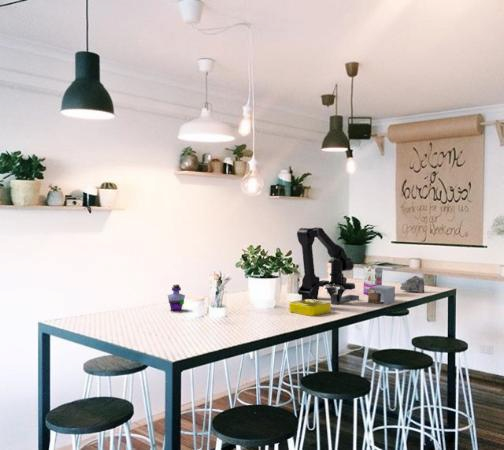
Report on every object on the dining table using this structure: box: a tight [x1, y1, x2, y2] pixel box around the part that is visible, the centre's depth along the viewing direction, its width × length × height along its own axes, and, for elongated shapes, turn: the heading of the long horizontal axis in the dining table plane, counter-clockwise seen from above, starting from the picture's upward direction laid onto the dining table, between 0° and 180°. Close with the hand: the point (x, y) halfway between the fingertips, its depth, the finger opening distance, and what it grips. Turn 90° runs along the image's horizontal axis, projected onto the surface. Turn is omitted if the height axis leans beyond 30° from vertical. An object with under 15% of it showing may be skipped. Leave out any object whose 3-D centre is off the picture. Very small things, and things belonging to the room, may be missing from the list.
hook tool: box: [330, 292, 360, 305], centre depth 278 cm, size 21×6×5 cm, turn 146°
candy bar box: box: [363, 265, 383, 296], centre depth 304 cm, size 11×5×16 cm, turn 25°
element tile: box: [288, 299, 332, 317], centre depth 248 cm, size 15×15×5 cm
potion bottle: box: [167, 284, 186, 312], centre depth 248 cm, size 9×9×12 cm
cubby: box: [369, 284, 396, 306], centre depth 280 cm, size 14×9×8 cm, turn 146°
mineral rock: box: [399, 275, 425, 294], centre depth 319 cm, size 13×11×10 cm
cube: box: [367, 293, 382, 305], centre depth 278 cm, size 5×5×5 cm
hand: (335, 301), depth 272 cm, fingers closed on hook tool, 3 cm apart
